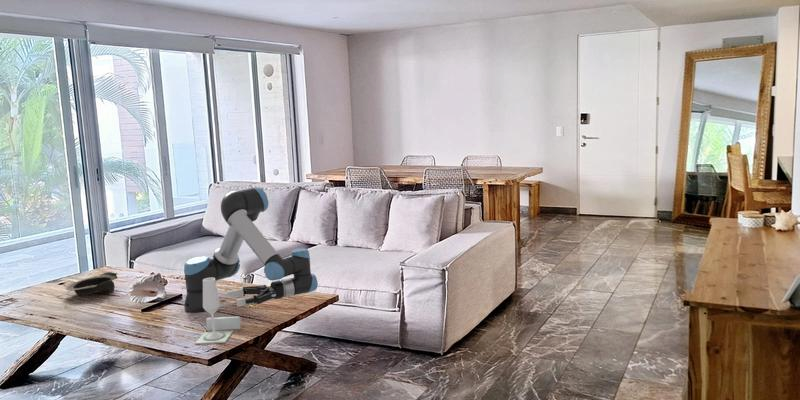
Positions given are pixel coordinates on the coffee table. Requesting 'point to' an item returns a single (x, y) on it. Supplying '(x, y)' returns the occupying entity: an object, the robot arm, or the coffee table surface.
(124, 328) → the coffee table surface
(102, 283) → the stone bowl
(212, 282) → the champagne flute
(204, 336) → the resting pad
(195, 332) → the coffee table surface
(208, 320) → the low wall
